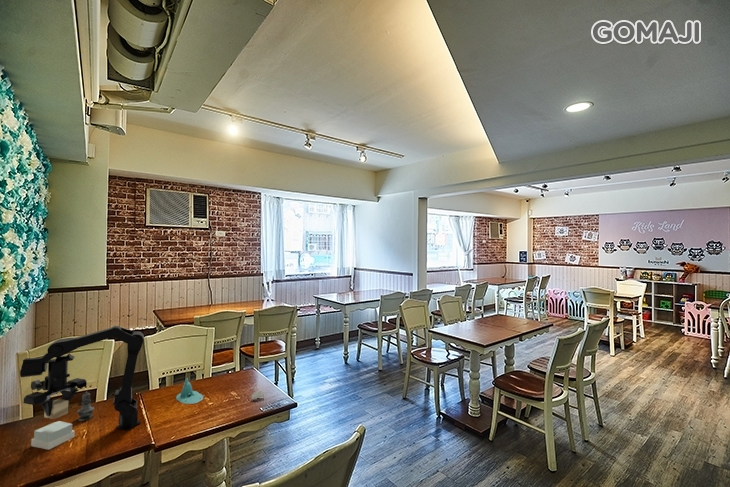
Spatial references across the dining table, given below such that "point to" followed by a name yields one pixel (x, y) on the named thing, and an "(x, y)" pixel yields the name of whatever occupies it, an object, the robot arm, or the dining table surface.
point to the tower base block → (52, 443)
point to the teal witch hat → (189, 394)
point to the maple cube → (58, 409)
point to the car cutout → (257, 395)
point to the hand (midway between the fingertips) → (56, 412)
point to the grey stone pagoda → (85, 408)
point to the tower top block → (53, 431)
